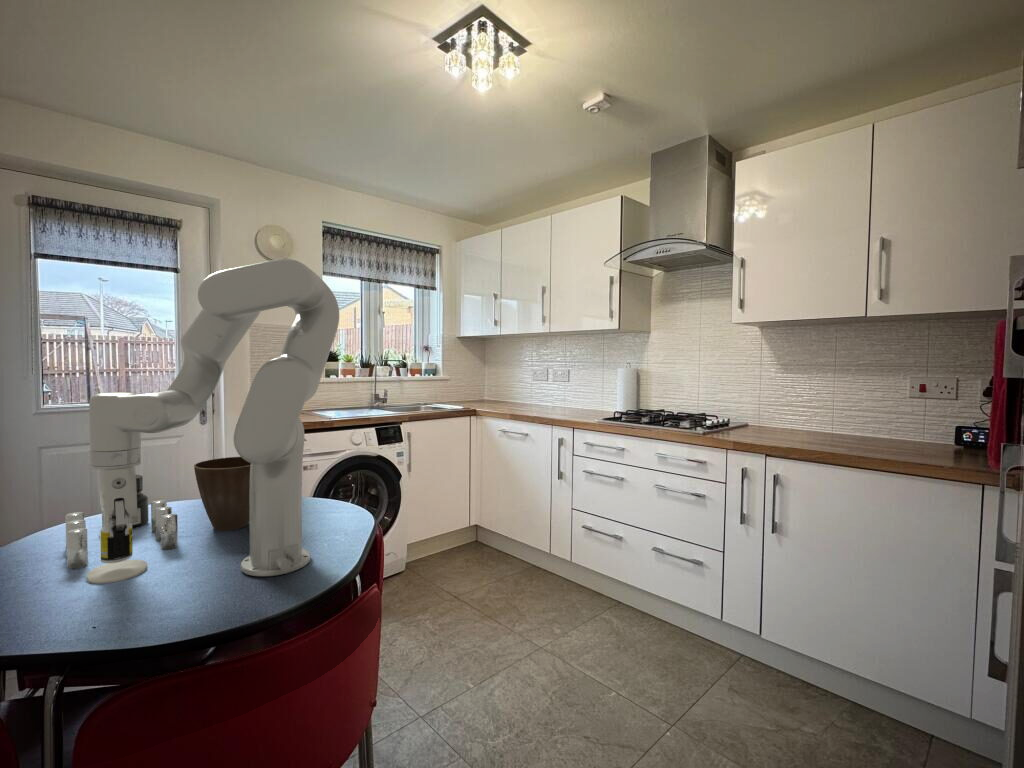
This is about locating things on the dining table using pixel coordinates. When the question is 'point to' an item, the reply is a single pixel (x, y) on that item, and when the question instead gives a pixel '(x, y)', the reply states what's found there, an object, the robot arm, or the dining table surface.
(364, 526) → the dining table surface
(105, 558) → the supplement bottle
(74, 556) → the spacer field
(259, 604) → the dining table surface
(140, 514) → the ink bottle
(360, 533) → the dining table surface
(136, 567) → the coaster
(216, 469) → the plant pot
